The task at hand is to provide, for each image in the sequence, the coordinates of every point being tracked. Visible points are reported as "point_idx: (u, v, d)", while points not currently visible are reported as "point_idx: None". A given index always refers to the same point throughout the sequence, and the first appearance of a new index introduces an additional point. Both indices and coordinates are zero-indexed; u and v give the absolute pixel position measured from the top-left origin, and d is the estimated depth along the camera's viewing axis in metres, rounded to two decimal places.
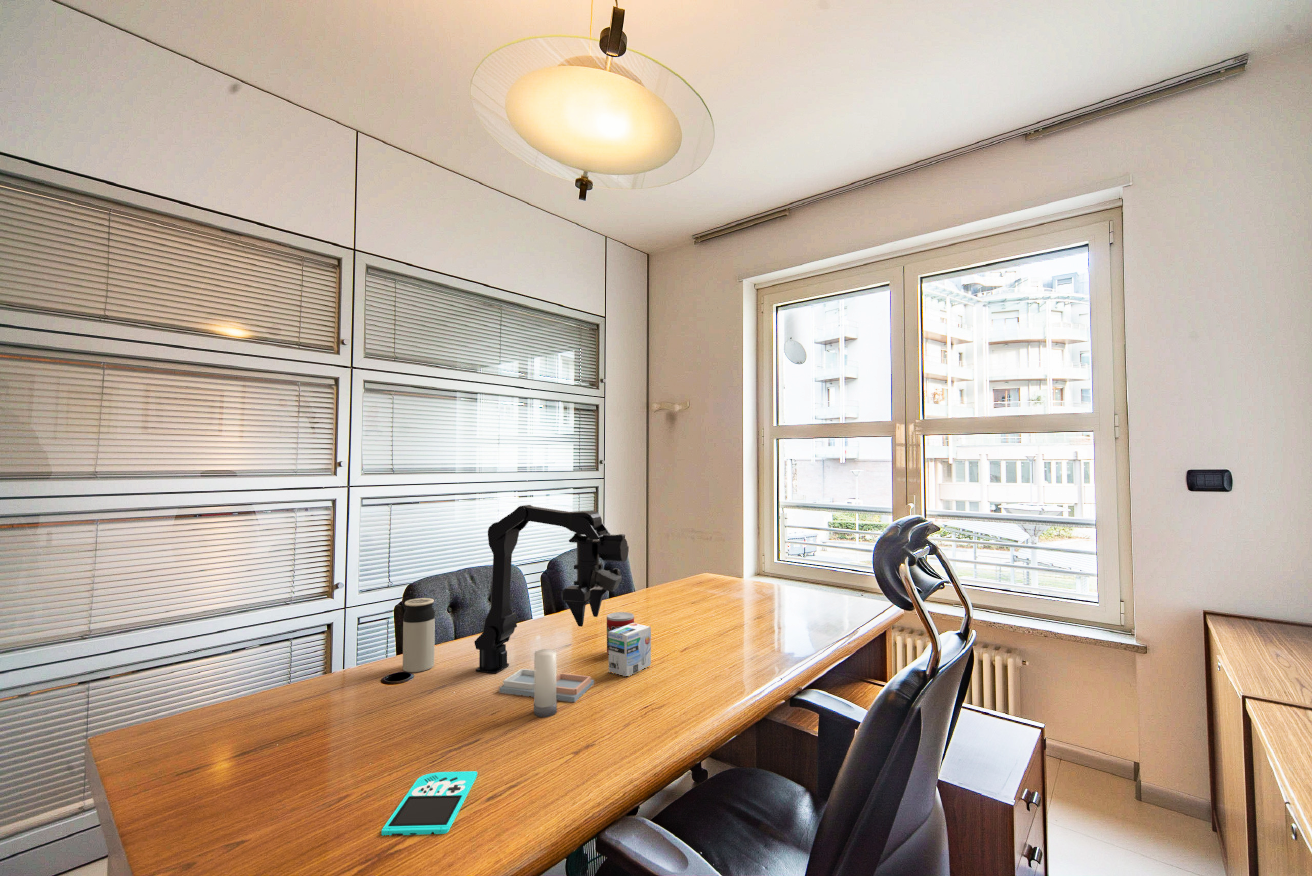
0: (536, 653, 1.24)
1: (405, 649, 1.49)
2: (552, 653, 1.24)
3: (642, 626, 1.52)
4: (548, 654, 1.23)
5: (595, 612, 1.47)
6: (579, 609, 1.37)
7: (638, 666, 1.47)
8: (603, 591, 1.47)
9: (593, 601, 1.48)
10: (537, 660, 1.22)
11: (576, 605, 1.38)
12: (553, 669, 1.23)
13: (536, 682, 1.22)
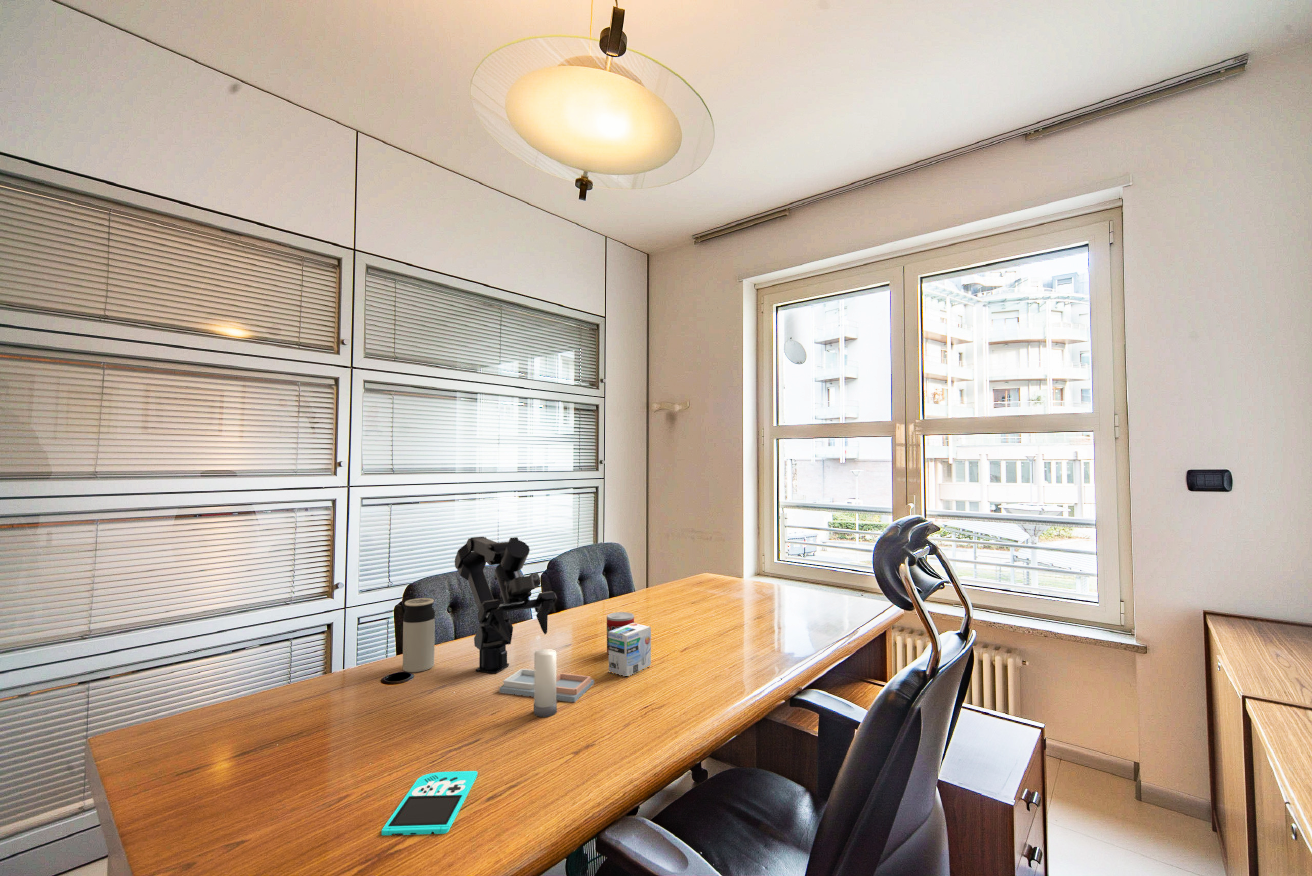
0: (536, 653, 1.24)
1: (405, 649, 1.49)
2: (552, 653, 1.24)
3: (642, 626, 1.52)
4: (548, 654, 1.23)
5: (543, 629, 1.35)
6: (499, 624, 1.31)
7: (638, 666, 1.47)
8: (542, 604, 1.38)
9: (541, 621, 1.38)
10: (537, 660, 1.22)
11: (498, 622, 1.32)
12: (553, 669, 1.23)
13: (536, 682, 1.22)
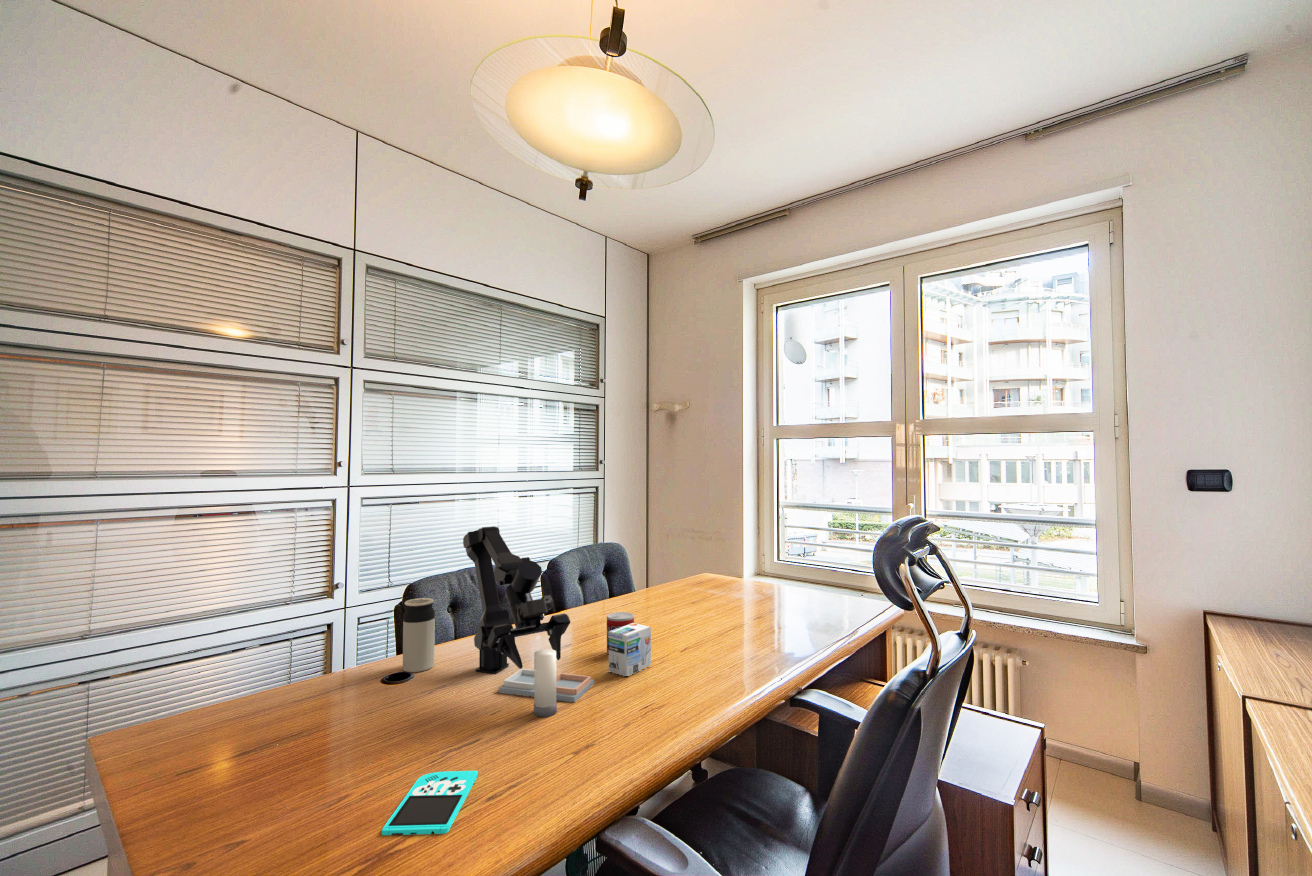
0: (536, 653, 1.24)
1: (405, 649, 1.49)
2: (551, 653, 1.24)
3: (642, 626, 1.52)
4: (548, 654, 1.23)
5: (556, 654, 1.29)
6: (511, 650, 1.25)
7: (638, 666, 1.47)
8: (555, 628, 1.32)
9: (554, 646, 1.32)
10: (537, 660, 1.22)
11: (509, 648, 1.26)
12: (553, 669, 1.23)
13: (536, 682, 1.22)
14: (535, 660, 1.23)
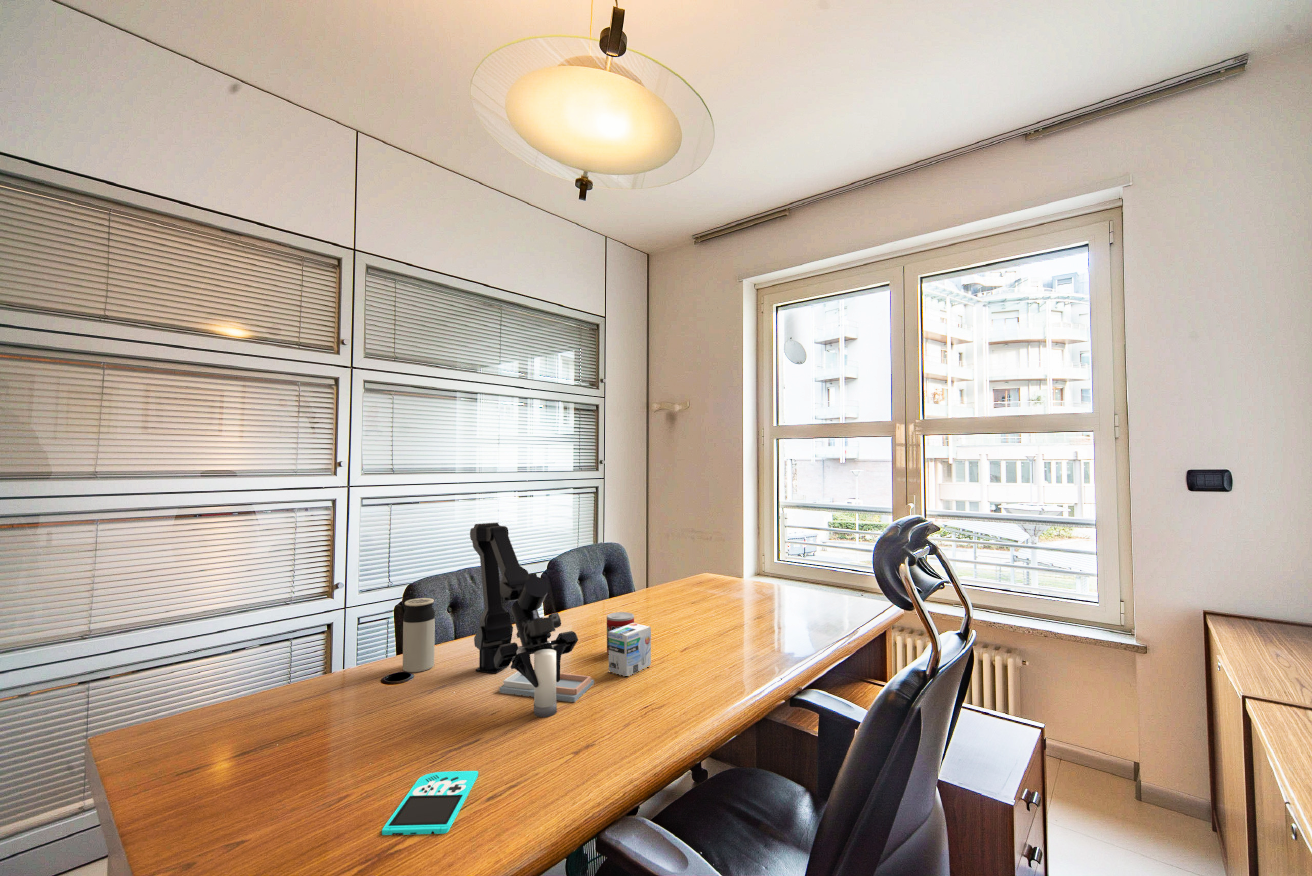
0: (536, 653, 1.23)
1: (405, 649, 1.49)
2: (551, 653, 1.24)
3: (642, 626, 1.52)
4: (548, 654, 1.23)
5: (556, 676, 1.25)
6: (526, 668, 1.23)
7: (638, 666, 1.47)
8: (554, 648, 1.27)
9: None
10: (537, 660, 1.22)
11: (524, 666, 1.24)
12: (553, 669, 1.23)
13: None
14: (535, 660, 1.23)
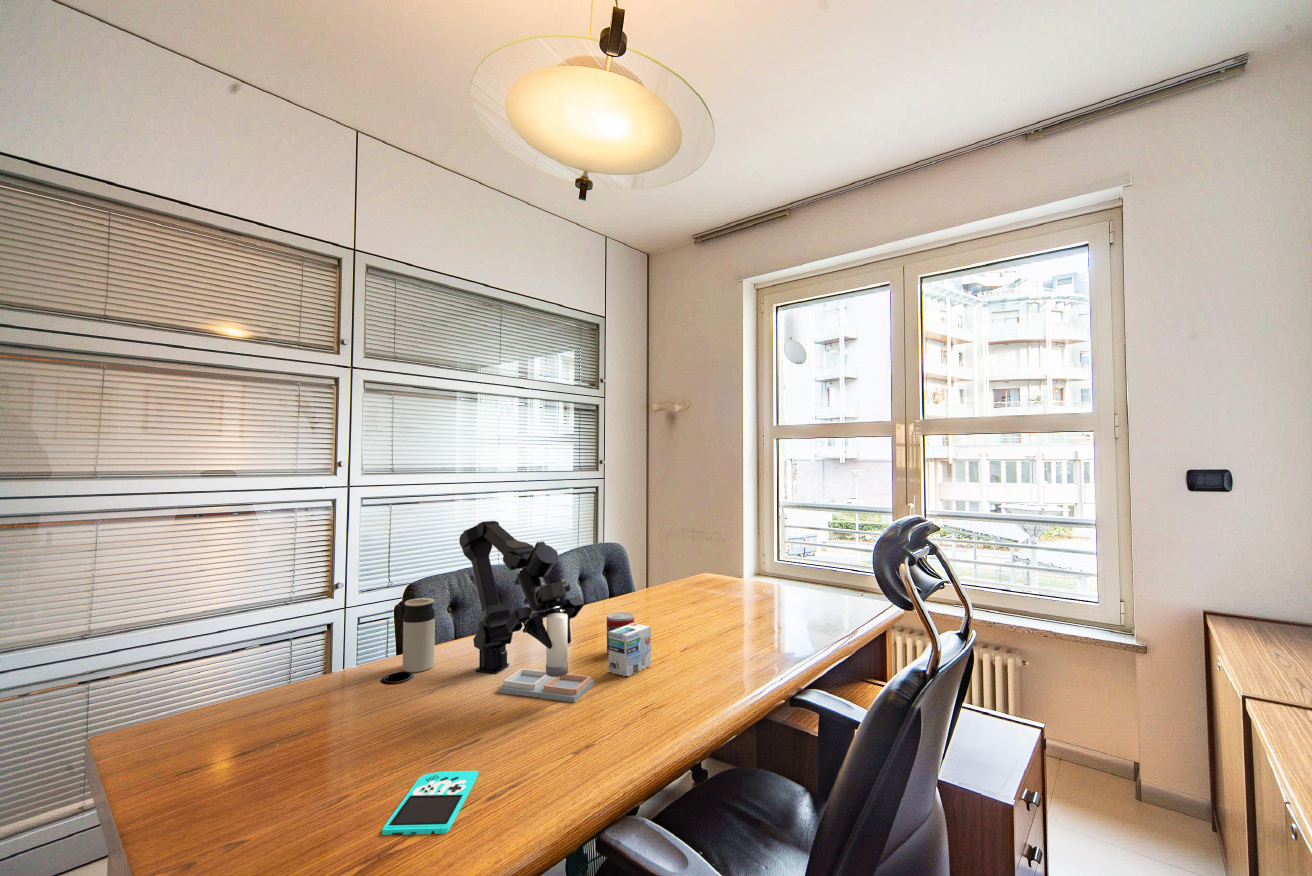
0: (548, 616, 1.28)
1: (405, 649, 1.49)
2: (564, 616, 1.29)
3: (642, 626, 1.52)
4: (561, 617, 1.28)
5: None
6: (539, 631, 1.28)
7: (638, 666, 1.47)
8: (563, 612, 1.33)
9: None
10: (550, 622, 1.27)
11: (536, 629, 1.29)
12: (565, 631, 1.28)
13: None
14: (548, 623, 1.27)
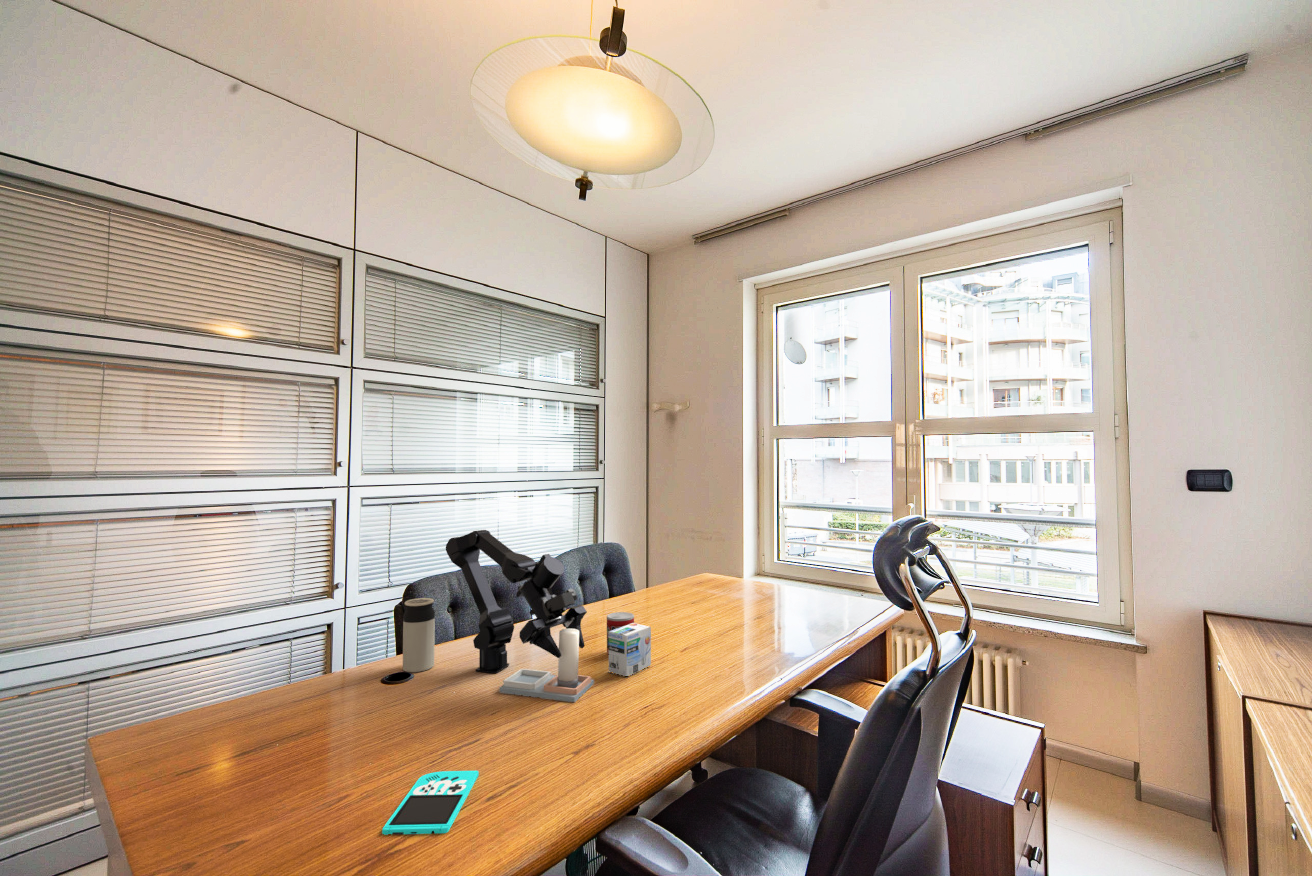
0: (562, 632, 1.34)
1: (405, 649, 1.49)
2: (576, 631, 1.36)
3: (642, 626, 1.52)
4: (574, 632, 1.34)
5: (580, 643, 1.38)
6: (547, 641, 1.32)
7: (638, 666, 1.47)
8: (575, 619, 1.41)
9: None
10: (565, 638, 1.33)
11: (543, 640, 1.33)
12: (578, 645, 1.35)
13: (563, 659, 1.33)
14: (562, 639, 1.33)
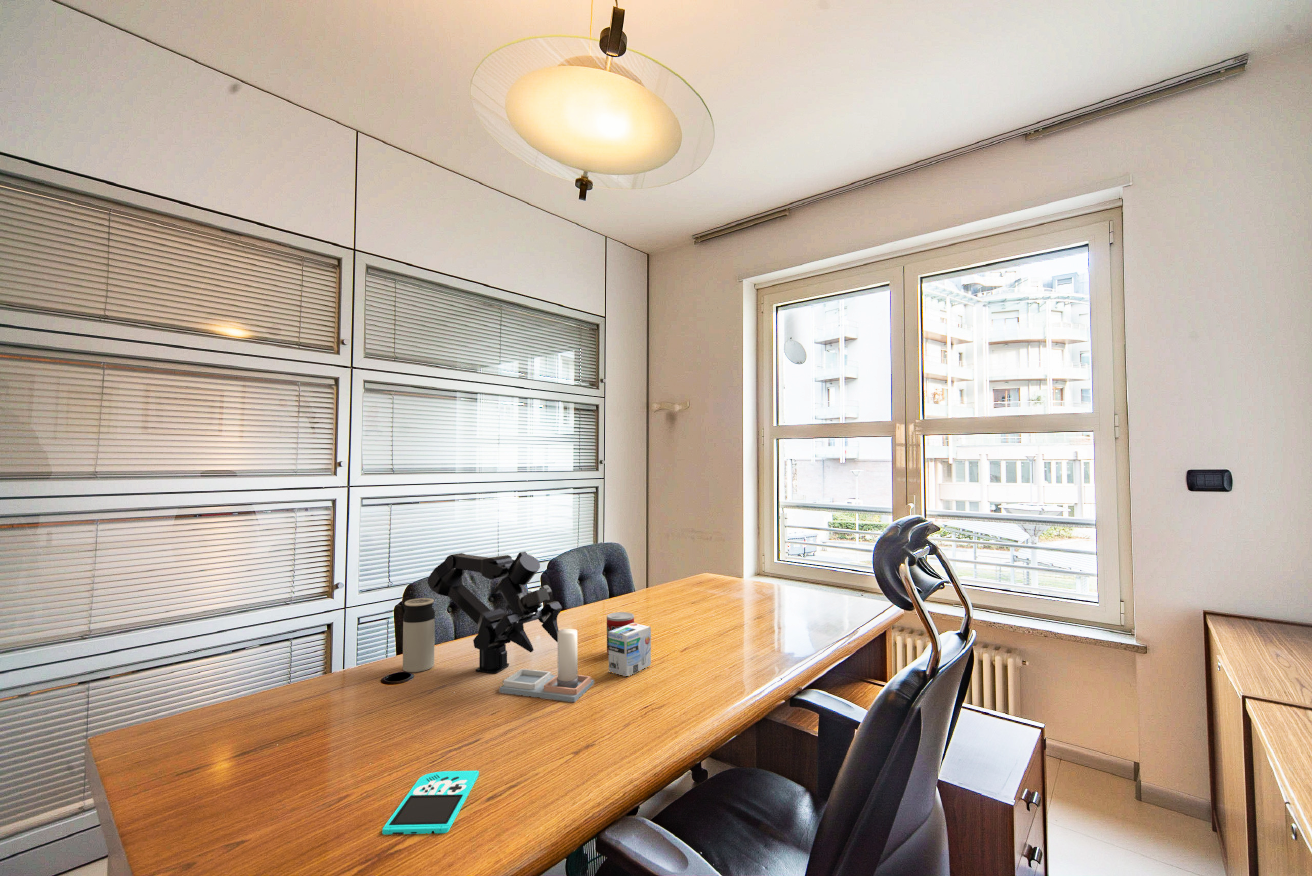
0: (560, 633, 1.35)
1: (405, 649, 1.49)
2: (574, 631, 1.36)
3: (642, 626, 1.52)
4: (572, 632, 1.35)
5: (556, 637, 1.44)
6: (520, 636, 1.37)
7: (638, 666, 1.47)
8: (551, 614, 1.46)
9: (550, 630, 1.46)
10: (563, 638, 1.33)
11: (516, 635, 1.37)
12: (576, 645, 1.35)
13: (562, 659, 1.33)
14: (560, 639, 1.34)
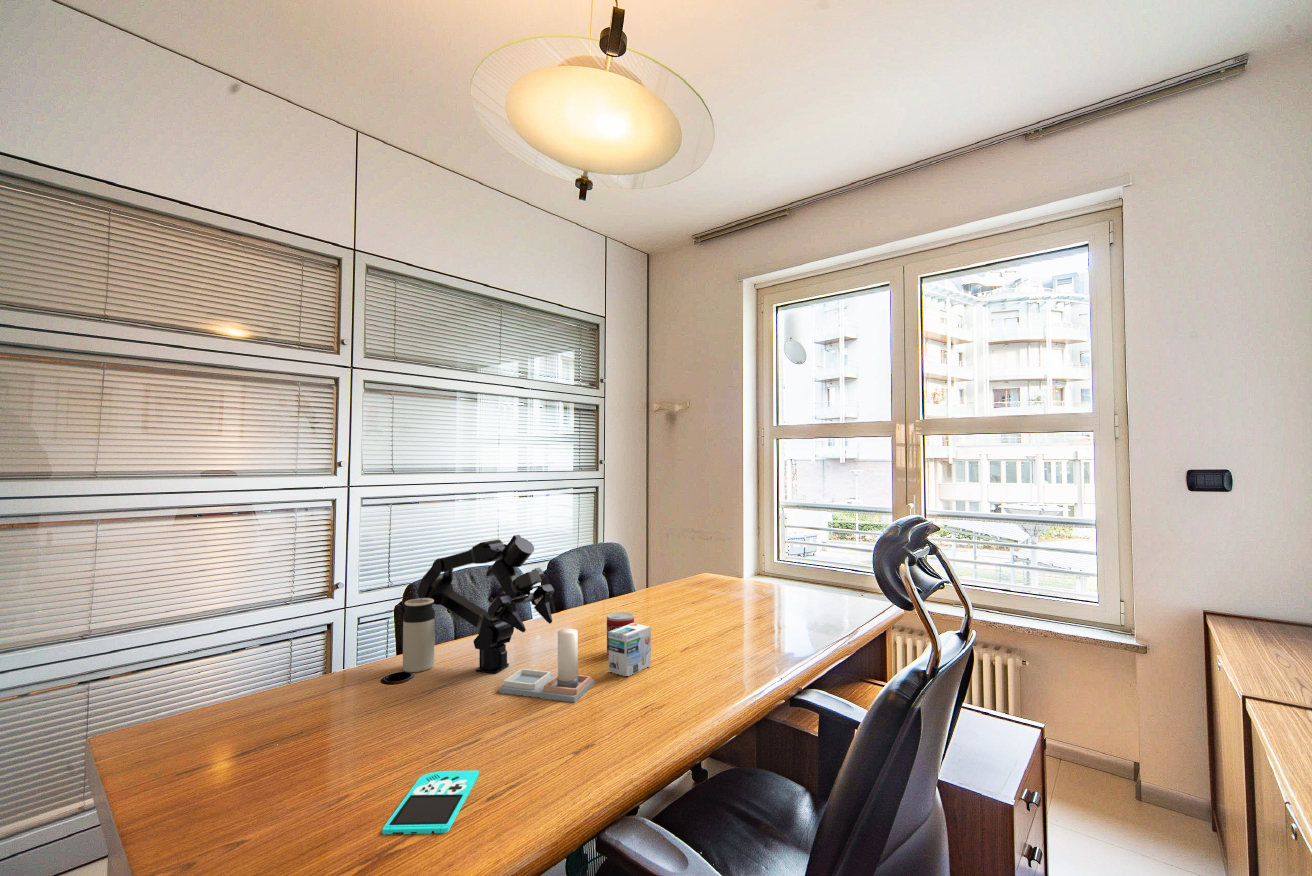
0: (560, 632, 1.35)
1: (405, 649, 1.49)
2: (574, 631, 1.36)
3: (642, 626, 1.52)
4: (572, 632, 1.35)
5: (548, 618, 1.46)
6: (512, 617, 1.39)
7: (638, 666, 1.47)
8: (543, 596, 1.48)
9: (542, 612, 1.48)
10: (563, 638, 1.33)
11: (509, 616, 1.40)
12: (577, 645, 1.35)
13: (562, 659, 1.33)
14: (561, 639, 1.34)
